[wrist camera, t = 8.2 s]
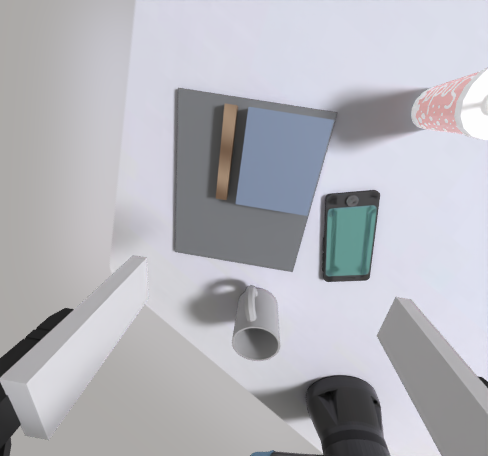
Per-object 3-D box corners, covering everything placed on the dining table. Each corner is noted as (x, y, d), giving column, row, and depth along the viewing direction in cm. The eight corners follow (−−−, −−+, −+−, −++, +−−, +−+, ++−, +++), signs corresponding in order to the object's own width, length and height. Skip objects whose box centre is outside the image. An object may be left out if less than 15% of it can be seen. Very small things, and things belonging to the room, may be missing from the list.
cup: (243, 318, 44) (238, 362, 36) (230, 276, 40) (221, 314, 32) (280, 315, 43) (283, 359, 35) (271, 271, 39) (272, 309, 31)
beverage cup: (445, 65, 26) (621, 5, 13) (470, 109, 27) (649, 94, 14) (394, 107, 28) (502, 92, 15) (419, 146, 29) (537, 162, 17)
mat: (292, 269, 39) (292, 272, 38) (176, 250, 39) (175, 251, 38) (336, 112, 29) (337, 112, 28) (179, 88, 29) (178, 87, 28)
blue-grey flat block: (237, 198, 34) (304, 209, 33) (235, 204, 31) (307, 216, 31) (249, 108, 29) (328, 120, 28) (248, 106, 26) (334, 119, 26)
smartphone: (381, 191, 31) (369, 281, 37) (377, 188, 32) (366, 276, 38) (325, 195, 32) (323, 282, 38) (323, 193, 33) (321, 278, 39)
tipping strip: (227, 197, 34) (226, 200, 32) (217, 195, 34) (215, 198, 32) (238, 106, 29) (237, 105, 27) (226, 104, 29) (224, 103, 27)
